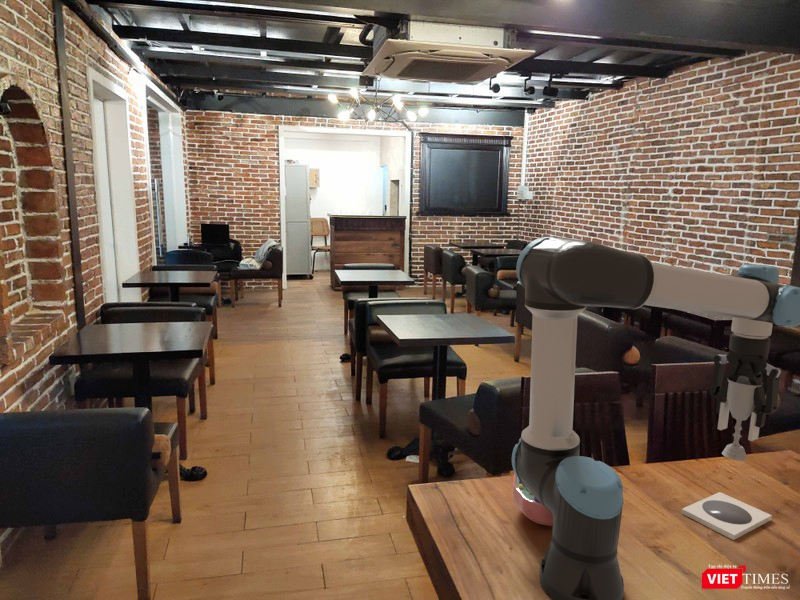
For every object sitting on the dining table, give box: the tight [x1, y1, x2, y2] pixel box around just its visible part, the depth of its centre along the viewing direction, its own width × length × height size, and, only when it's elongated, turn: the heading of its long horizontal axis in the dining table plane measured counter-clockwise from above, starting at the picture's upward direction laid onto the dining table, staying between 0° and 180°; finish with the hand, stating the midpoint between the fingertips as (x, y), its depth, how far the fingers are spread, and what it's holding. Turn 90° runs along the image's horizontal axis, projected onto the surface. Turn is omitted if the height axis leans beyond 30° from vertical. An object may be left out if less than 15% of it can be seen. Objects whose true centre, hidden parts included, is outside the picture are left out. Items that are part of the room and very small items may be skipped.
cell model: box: [512, 472, 553, 528], centre depth 126 cm, size 17×20×11 cm
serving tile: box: [680, 491, 773, 541], centre depth 129 cm, size 16×12×1 cm
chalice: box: [721, 375, 764, 462], centre depth 125 cm, size 7×7×18 cm
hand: (737, 433), depth 125 cm, fingers closed on chalice, 6 cm apart
